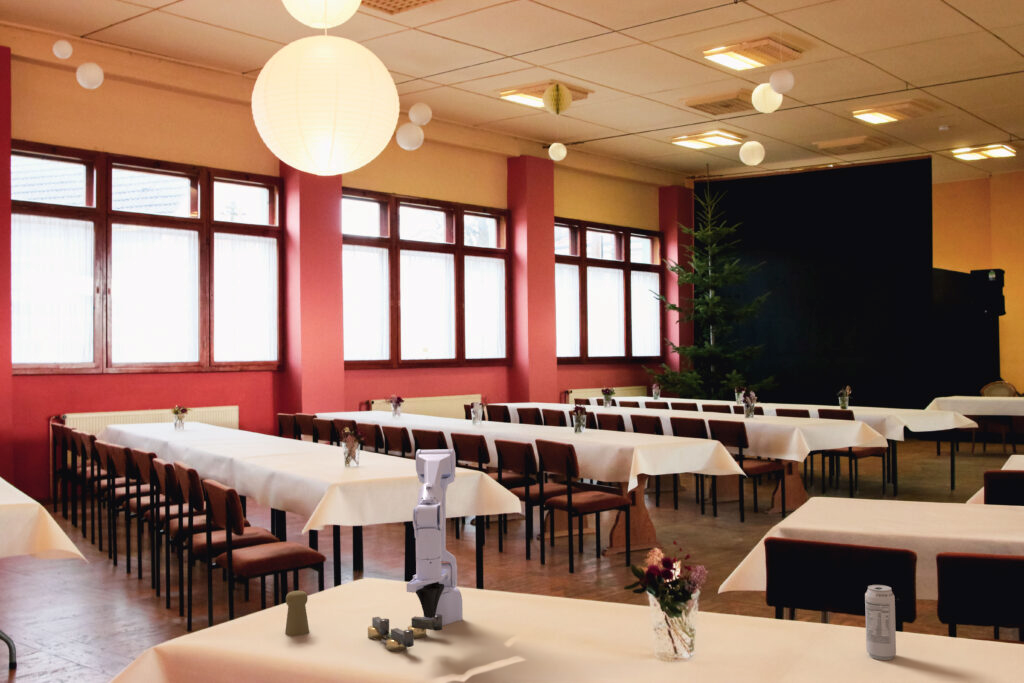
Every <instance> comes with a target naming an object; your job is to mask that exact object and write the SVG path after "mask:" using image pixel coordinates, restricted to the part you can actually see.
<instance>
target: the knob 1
mask: <svg viewBox="0 0 1024 683" xmlns="http://www.w3.org/2000/svg"><path fill="white" fill-rule="evenodd" d="M371 621H372V622H371V625H369V626H368V627H367V638H369V639H381V638H382V637H384V636H386V635H388V634H389V633H390V618H381V616H374V617H372V618H371Z"/></svg>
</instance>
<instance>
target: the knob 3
mask: <svg viewBox="0 0 1024 683" xmlns="http://www.w3.org/2000/svg"><path fill="white" fill-rule="evenodd" d="M407 630H413V634H414V639H422V638H425V637H426V636H427V630H431V631H436V632H441V631H442V630H443V625H442V615H440V614H436V615H435V617H433V618H425V617H424V616H417V615H416V616H413V617H411V624H410V625H408V626H407Z"/></svg>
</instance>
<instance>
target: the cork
mask: <svg viewBox="0 0 1024 683" xmlns="http://www.w3.org/2000/svg"><path fill="white" fill-rule="evenodd" d="M308 598H309V597H308V594H307V592H306V591H304V590H292V591H290V592H288V593H287V594H286V596H285V602H286V603H285V604H286V605H287V614H286V623H285V630H284V631H285V632H284V634H285V635H287V636H289V637H290V636H291V637H297V636H299V637H300V636H305V635H307V634H309V633H310V628H309V621H308V614H307V609H306V608H307V607H306V604H307V603H308Z"/></svg>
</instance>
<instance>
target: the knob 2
mask: <svg viewBox="0 0 1024 683" xmlns="http://www.w3.org/2000/svg"><path fill="white" fill-rule="evenodd" d="M390 632H391V637H390V638H388V639H387V644H386V650H387V651H389V652H401V651H404V650H406V648H410V647H411V648H412V647H414V640H415V638H414V634H413V630H408V629H405V630H403V629H400V628H399V627H396V628H392V629H390Z"/></svg>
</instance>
